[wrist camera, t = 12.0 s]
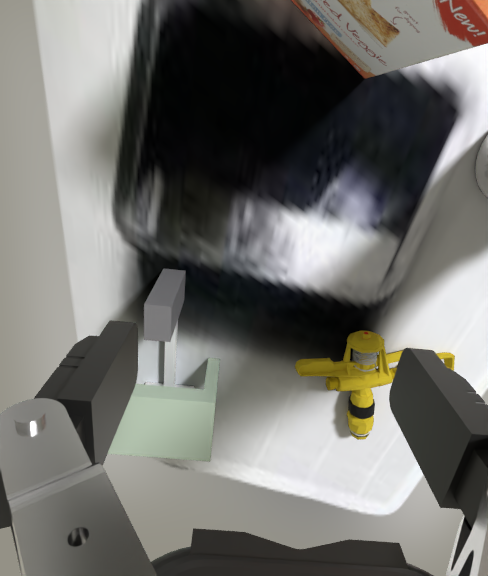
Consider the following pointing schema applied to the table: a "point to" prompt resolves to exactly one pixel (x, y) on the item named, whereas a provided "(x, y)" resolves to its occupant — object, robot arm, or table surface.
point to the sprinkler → (359, 375)
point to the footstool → (169, 421)
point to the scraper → (165, 319)
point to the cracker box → (397, 29)
